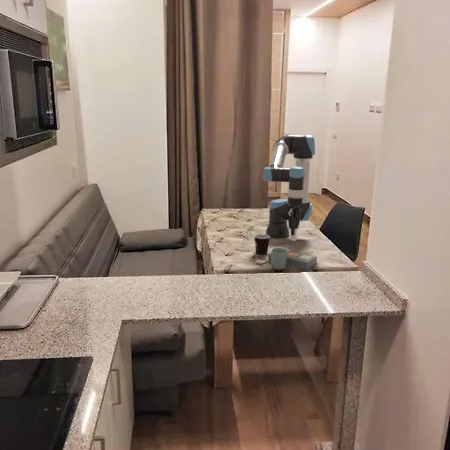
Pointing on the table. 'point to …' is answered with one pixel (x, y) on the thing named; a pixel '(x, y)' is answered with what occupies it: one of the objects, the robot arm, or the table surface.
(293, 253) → the key mid
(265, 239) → the coffee mug
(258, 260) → the tile
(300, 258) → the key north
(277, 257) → the cup
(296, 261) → the keypad
